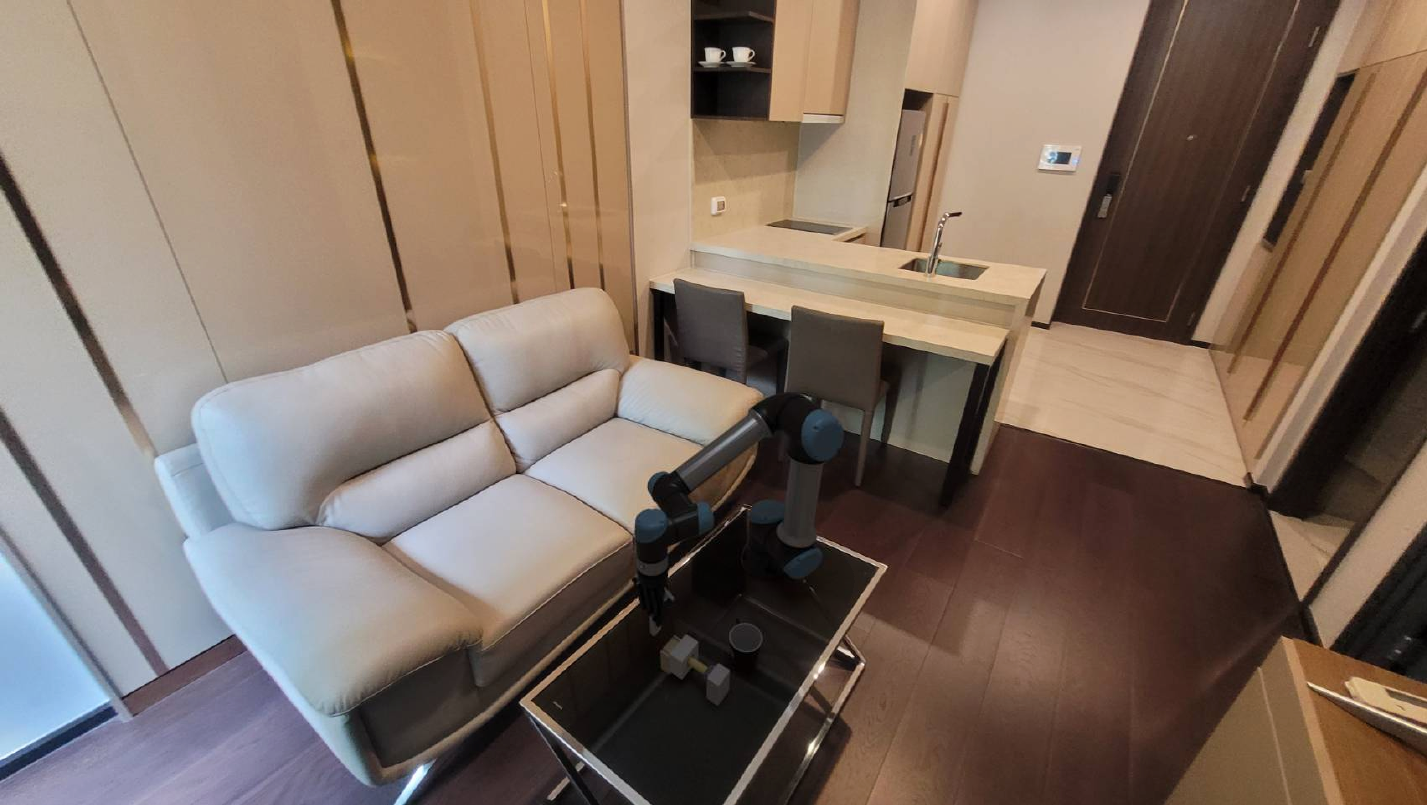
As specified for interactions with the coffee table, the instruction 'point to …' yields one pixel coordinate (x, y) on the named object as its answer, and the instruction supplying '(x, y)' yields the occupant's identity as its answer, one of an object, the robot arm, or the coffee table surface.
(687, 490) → the robot arm
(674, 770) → the coffee table surface
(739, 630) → the coffee mug
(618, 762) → the coffee table surface
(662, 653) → the blocks on yellow rod
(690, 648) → the sleeve
